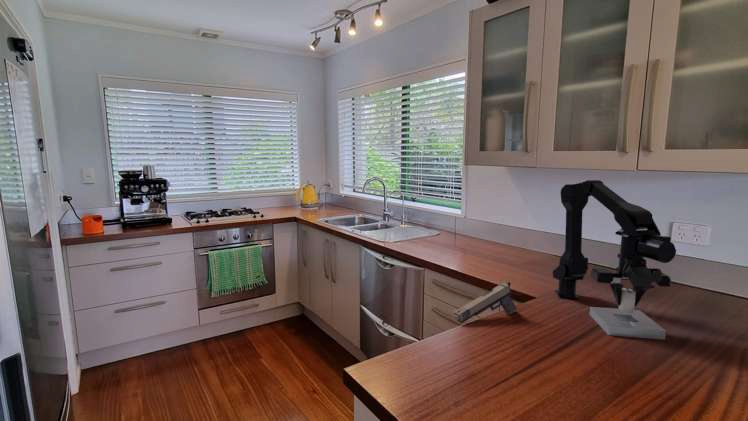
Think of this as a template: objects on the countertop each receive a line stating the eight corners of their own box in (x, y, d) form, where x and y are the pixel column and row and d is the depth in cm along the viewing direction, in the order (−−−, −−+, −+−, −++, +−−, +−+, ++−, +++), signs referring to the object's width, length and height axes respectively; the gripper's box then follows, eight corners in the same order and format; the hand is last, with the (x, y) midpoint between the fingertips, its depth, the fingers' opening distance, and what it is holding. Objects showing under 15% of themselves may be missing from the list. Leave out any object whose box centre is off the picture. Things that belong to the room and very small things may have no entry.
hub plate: (589, 314, 118) (590, 306, 118) (638, 317, 116) (639, 309, 115) (608, 335, 104) (609, 325, 104) (665, 339, 102) (666, 330, 102)
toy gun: (461, 338, 115) (452, 311, 113) (513, 306, 121) (506, 279, 119) (465, 342, 113) (456, 314, 110) (519, 308, 119) (511, 281, 116)
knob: (615, 307, 111) (618, 287, 111) (630, 308, 111) (632, 287, 110) (621, 312, 108) (624, 291, 107) (636, 313, 107) (638, 292, 106)
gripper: (608, 259, 101) (602, 314, 103) (686, 262, 97) (679, 319, 100) (592, 249, 112) (587, 299, 114) (662, 252, 108) (656, 303, 111)
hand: (626, 305), depth 109 cm, fingers closed on knob, 4 cm apart
